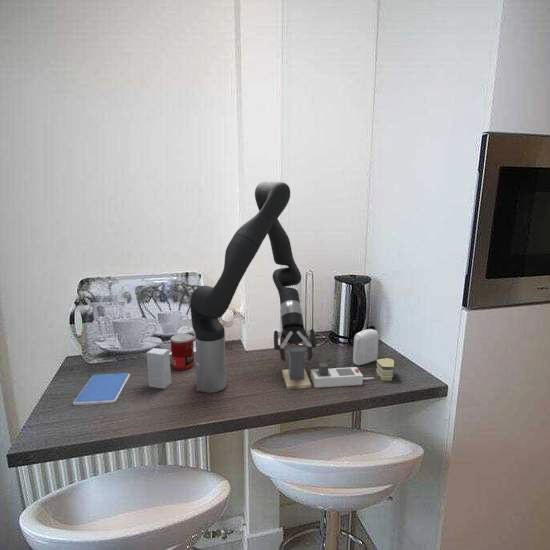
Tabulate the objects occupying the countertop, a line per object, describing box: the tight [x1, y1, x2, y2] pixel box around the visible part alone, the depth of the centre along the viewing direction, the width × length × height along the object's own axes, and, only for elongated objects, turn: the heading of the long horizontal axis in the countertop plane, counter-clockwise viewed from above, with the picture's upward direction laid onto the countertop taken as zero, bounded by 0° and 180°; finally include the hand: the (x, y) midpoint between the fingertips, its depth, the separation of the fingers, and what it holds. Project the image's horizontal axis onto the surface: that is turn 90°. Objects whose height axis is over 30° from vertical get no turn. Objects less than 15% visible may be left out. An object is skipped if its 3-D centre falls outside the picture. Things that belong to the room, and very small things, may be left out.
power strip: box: [310, 362, 375, 389], centre depth 131 cm, size 21×6×6 cm, turn 97°
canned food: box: [170, 333, 195, 371], centre depth 143 cm, size 8×8×11 cm
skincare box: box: [146, 347, 172, 390], centre depth 128 cm, size 6×4×12 cm
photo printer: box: [352, 328, 380, 366], centre depth 146 cm, size 10×4×12 cm, turn 123°
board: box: [281, 368, 313, 390], centre depth 133 cm, size 8×12×1 cm, turn 7°
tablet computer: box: [72, 372, 131, 406], centre depth 128 cm, size 19×13×1 cm, turn 7°
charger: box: [288, 345, 305, 380], centre depth 132 cm, size 4×4×10 cm
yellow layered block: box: [375, 357, 395, 382], centre depth 135 cm, size 10×9×6 cm
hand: (297, 360), depth 130 cm, fingers open, 8 cm apart
